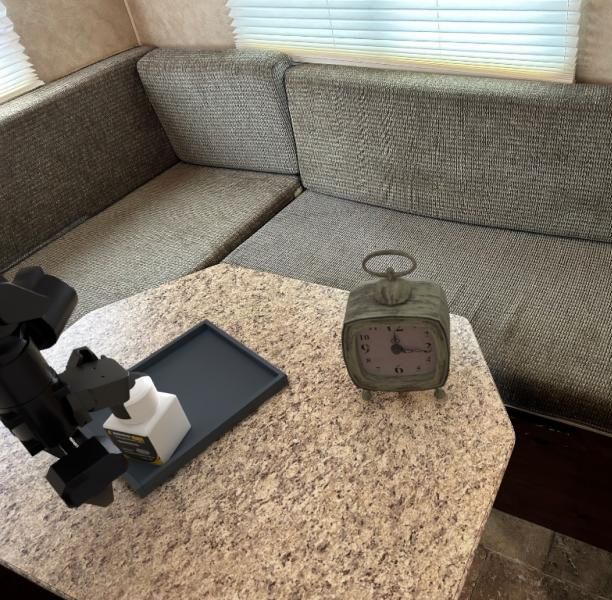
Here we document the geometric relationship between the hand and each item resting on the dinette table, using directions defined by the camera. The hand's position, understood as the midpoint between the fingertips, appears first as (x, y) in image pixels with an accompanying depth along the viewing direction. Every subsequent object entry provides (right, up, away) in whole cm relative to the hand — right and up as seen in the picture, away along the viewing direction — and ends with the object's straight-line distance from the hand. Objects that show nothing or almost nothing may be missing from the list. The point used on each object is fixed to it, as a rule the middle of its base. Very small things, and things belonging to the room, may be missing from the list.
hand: (89, 480), depth 67 cm
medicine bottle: (0, 0, +19) cm, 19 cm away
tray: (+1, +4, +26) cm, 26 cm away
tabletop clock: (+35, +7, +24) cm, 43 cm away
